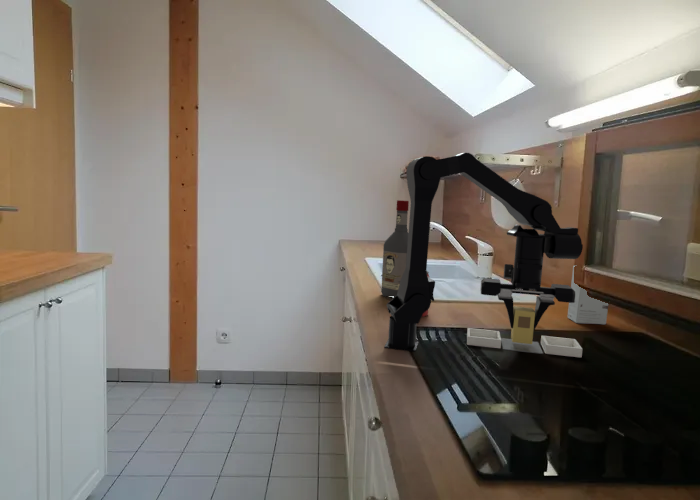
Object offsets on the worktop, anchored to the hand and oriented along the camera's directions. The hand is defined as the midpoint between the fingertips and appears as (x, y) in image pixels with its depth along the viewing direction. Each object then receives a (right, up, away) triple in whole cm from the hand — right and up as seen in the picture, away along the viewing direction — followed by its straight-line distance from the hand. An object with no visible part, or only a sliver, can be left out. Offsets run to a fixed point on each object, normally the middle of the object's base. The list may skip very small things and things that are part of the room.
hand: (522, 328), depth 105 cm
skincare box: (+27, -2, +26) cm, 37 cm away
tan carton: (0, -3, 0) cm, 3 cm away
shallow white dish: (-8, -4, +2) cm, 9 cm away
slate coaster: (0, -4, +1) cm, 4 cm away
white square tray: (+8, -5, -1) cm, 9 cm away
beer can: (-20, -1, +25) cm, 32 cm away
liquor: (-22, +2, +48) cm, 53 cm away
